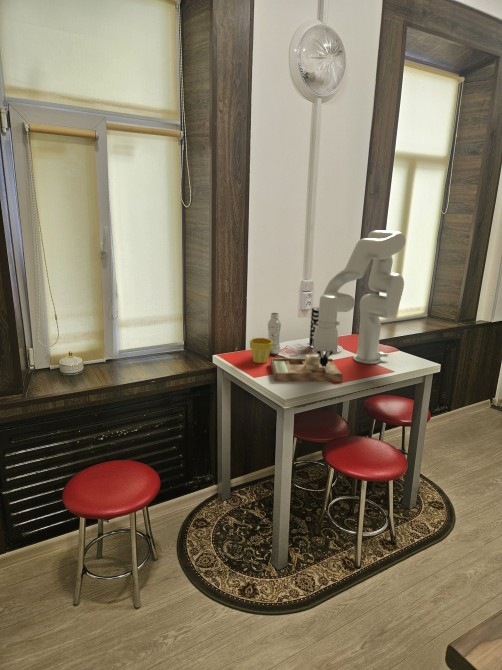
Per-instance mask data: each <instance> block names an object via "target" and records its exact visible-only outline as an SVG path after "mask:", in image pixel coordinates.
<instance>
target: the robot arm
mask: <svg viewBox="0 0 502 670" xmlns="http://www.w3.org/2000/svg"><path fill="white" fill-rule="evenodd" d="M406 242H407V241H406V237H405V234H404V233H402V232H401V231H393V230H383V229H382V230H379V229H378V230H377V229H376V230H372V231H370V232H369V233H368V235H367V237H366V238H360V239H359V240H358V241H357V242H356V244H355V247H353V250H352V253H351V255H350V257H349V260H348V261H347V263H346V265H345V268H343V269H342V270H341V271H340V272H338V273H337V274H336V275H334V276H333V277H332V278H331V279H330V280H329V282H328V283H327V285H326V287H325V289H324V291H323V292H324V293H323V294H322V295H320V297H319V304H318V305H319V306H318V308H319V316H318V326H316V327H315V331H314V336H313V344H312V345H313V349H312V348H311V351H312V354H313V353H314V354H317V355H319V358H320V364H321V365H322V367H324V366H325V367H326V364H328V359H330V356H332V355H333V354H336V353H338V347H339V333H338V327H337V326H340V321H337V318H338V316H337V315H338V313H347V312H351V310H353V308H354V307H355V305H356V300H355V298H354V297H353V296H352V295H350V294H348V293H343V292H339V291H340V288H342V287H343V286H344V285H346V284H347V283H349V282H354V281H355V280H359V279H361V278H363V277H364V276H365V273H366V271H367V269H368V267H369V265H370V262H371V260H373V261H372V265H371V269H370V270H371V271H370V274H369V278H368V288H369V290H371V291H373V292H378V293H382V294H385V295H380V294H375V293H367V294H364V295H363V296H362V297H361V298H360V300H359V312H360V316H359V317H360V318H359V319H360V320H359V332H358V341H357V351H356V353H355V354H353V357H352V358H353V360H354V361H356V362H357V363H362V364H367V365H369V364H370V365H374V364H378V363H381V358H387V357H388V356H389V354H388V352H383V351H379V347H380V346H379V345H380V336H381V328H382V322H381V318H383V319H388V320H390V319H393V318H394V317H396V315H397V313H398V310H399V307H400V303H401V299H402V296H403V291H404V287H405V279H404V276H402V274H400V273H397V272H392V269H393V263H394V262H393V260H394V259H393V256H394V255H396V254H398V253H399V252H401V251H402V250H403V248H404V247H405V245H406ZM324 352H325V353H324Z"/></svg>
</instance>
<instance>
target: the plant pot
mask: <svg viewBox="0 0 502 670" xmlns="http://www.w3.org/2000/svg"><path fill="white" fill-rule="evenodd" d="M272 344H273V342H272V340H270V339H268V338H265V337H254V338H251V339H250V340H249V348H250V349H251V350H250V351H251V356H252V360H253V362H254V363H257V364H265V363H267V362H268V361H269V358H270V355H271V354H270V350H271V349H272Z"/></svg>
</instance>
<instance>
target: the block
mask: <svg viewBox="0 0 502 670" xmlns="http://www.w3.org/2000/svg"><path fill="white" fill-rule="evenodd" d="M318 355H319V354H305V358H306V359H305V366H306V368H307V370H319V358H320V356H318Z"/></svg>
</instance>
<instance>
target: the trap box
mask: <svg viewBox="0 0 502 670" xmlns="http://www.w3.org/2000/svg"><path fill="white" fill-rule="evenodd" d="M305 359H306V357H305V358H303V357H301V358H299V357H297V358H296V357H295V358H294V357H270V363H269V364H270V369H271V371H272V372H271V373H272V375H273V379H274V381H275V382H343V376H344V374H343V372H341V371H340V370H339V368H338V367H337V365H336V364H335V363H334V360H333V358H328V364H326V367H325V366H324V367H322V365H321V364H320V357H319V370H307V368H306V366H305Z"/></svg>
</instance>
